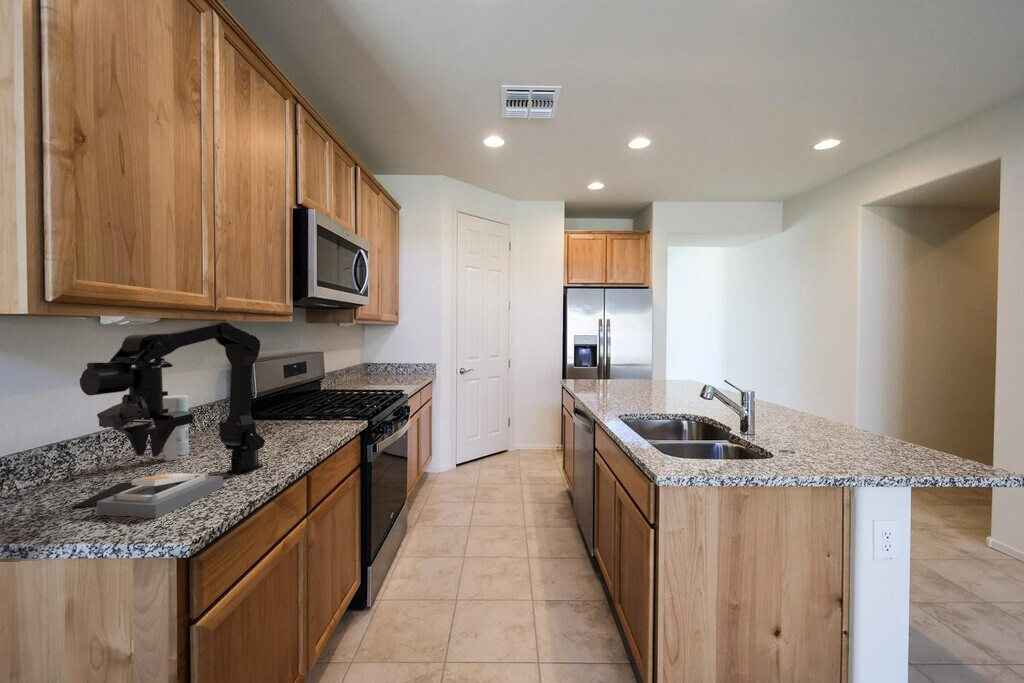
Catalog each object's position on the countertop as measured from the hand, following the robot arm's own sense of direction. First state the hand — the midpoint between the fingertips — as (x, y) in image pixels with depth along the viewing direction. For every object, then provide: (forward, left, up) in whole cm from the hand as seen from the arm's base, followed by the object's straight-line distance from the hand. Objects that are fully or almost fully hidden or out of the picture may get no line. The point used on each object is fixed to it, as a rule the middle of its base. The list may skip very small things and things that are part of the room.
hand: (148, 455), depth 91 cm
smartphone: (-5, -16, -13) cm, 21 cm away
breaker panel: (-4, 0, -12) cm, 12 cm away
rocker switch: (-4, 0, -8) cm, 8 cm away
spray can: (-32, -28, -12) cm, 45 cm away
